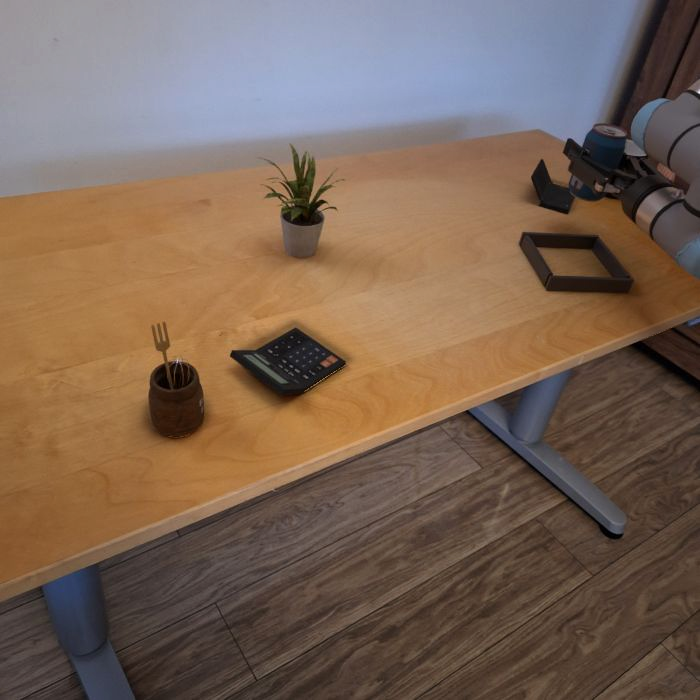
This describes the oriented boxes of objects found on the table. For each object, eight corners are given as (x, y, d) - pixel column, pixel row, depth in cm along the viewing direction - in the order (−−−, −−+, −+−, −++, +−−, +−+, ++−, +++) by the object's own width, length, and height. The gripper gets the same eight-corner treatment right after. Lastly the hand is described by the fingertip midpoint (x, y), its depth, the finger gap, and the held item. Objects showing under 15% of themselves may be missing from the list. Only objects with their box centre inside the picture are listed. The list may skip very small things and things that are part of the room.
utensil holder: (164, 447, 68) (154, 366, 60) (142, 411, 72) (130, 331, 64) (214, 427, 71) (210, 348, 63) (190, 393, 74) (184, 314, 67)
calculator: (345, 366, 81) (347, 348, 79) (280, 409, 74) (281, 391, 72) (295, 332, 86) (296, 314, 84) (229, 369, 79) (229, 351, 77)
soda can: (608, 194, 114) (635, 130, 106) (598, 207, 109) (625, 141, 101) (572, 182, 116) (596, 118, 109) (561, 194, 112) (584, 128, 104)
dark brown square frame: (593, 246, 114) (598, 234, 113) (628, 292, 103) (634, 280, 102) (518, 243, 112) (522, 231, 110) (546, 290, 101) (551, 277, 99)
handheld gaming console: (581, 208, 122) (563, 162, 119) (545, 223, 125) (527, 178, 122) (578, 192, 132) (561, 149, 128) (544, 206, 135) (527, 164, 131)
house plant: (239, 231, 104) (239, 136, 94) (314, 219, 110) (321, 129, 100) (271, 276, 95) (274, 177, 85) (350, 261, 101) (362, 167, 90)
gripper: (723, 185, 95) (642, 127, 112) (609, 183, 90) (542, 123, 107) (700, 229, 100) (625, 167, 117) (590, 228, 95) (529, 164, 112)
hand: (586, 146), depth 112 cm, fingers closed on soda can, 7 cm apart
